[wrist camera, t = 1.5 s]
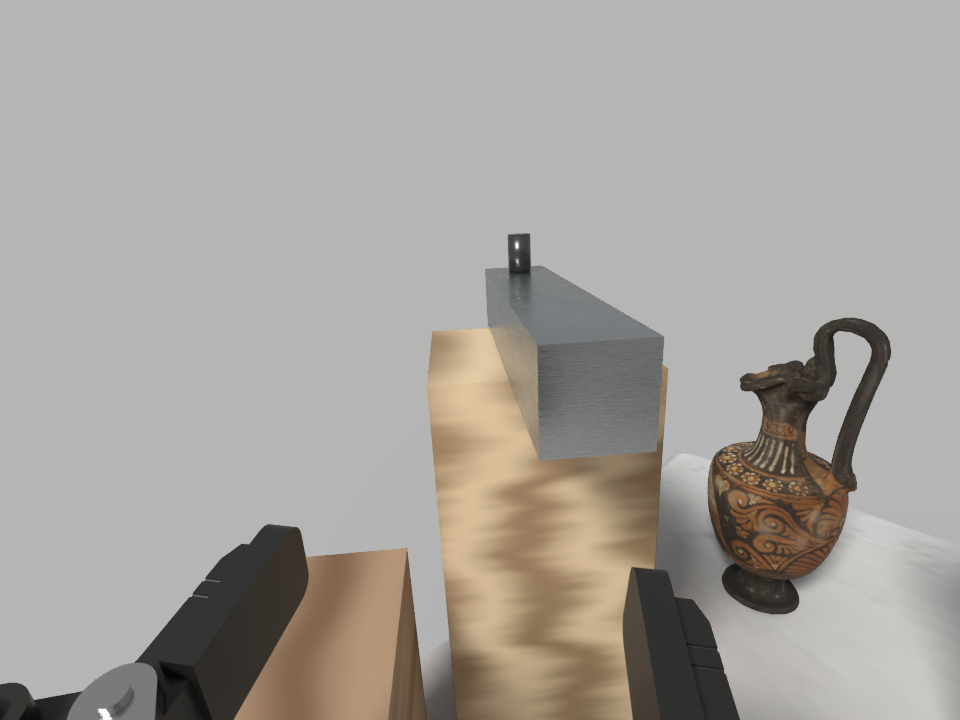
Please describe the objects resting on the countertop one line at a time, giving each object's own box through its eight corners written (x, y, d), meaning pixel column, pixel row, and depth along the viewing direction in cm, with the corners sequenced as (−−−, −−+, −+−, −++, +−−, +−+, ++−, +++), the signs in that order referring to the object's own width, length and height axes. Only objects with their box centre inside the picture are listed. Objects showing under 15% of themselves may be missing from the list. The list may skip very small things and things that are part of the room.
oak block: (592, 662, 44) (600, 320, 35) (638, 803, 34) (668, 368, 24) (461, 676, 44) (432, 331, 34) (466, 824, 33) (426, 386, 24)
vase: (732, 539, 59) (762, 295, 50) (854, 600, 49) (918, 311, 40) (677, 585, 53) (700, 314, 44) (804, 665, 43) (868, 338, 34)
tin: (542, 321, 35) (541, 230, 33) (656, 451, 16) (669, 258, 14) (487, 324, 35) (483, 233, 33) (539, 460, 16) (535, 266, 14)
